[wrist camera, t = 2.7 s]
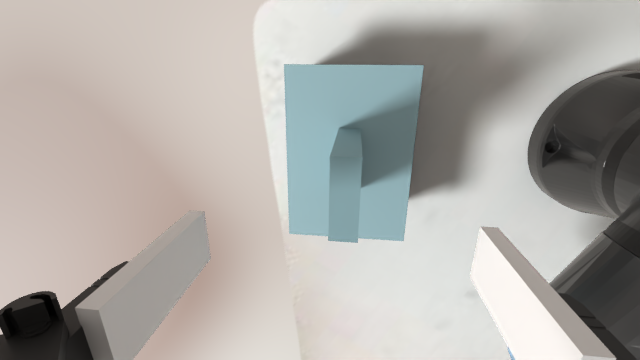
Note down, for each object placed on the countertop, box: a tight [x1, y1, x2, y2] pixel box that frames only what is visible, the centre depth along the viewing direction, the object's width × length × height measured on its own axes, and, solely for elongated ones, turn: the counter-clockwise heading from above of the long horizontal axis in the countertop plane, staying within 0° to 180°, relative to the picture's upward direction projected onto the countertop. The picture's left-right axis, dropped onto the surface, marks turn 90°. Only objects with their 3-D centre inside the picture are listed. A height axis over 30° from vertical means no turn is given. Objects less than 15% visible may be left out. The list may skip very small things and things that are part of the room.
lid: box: [284, 64, 424, 243], centre depth 25 cm, size 17×12×11 cm
